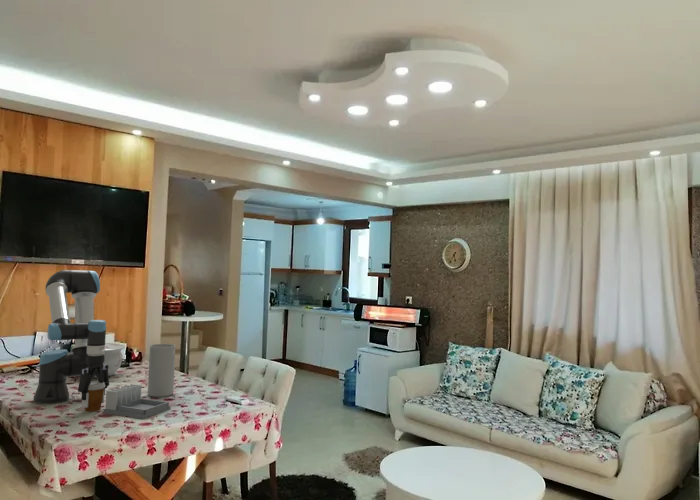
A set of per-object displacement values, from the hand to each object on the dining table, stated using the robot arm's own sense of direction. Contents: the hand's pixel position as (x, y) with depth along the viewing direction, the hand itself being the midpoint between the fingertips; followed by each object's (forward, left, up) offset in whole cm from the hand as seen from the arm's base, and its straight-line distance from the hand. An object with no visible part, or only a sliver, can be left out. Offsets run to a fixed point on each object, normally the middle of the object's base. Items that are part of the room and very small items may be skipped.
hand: (93, 404), depth 245 cm
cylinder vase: (+6, +38, -3) cm, 39 cm away
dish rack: (+18, +8, -2) cm, 20 cm away
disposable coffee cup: (0, 0, -3) cm, 3 cm away
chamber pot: (-56, +59, -3) cm, 81 cm away
